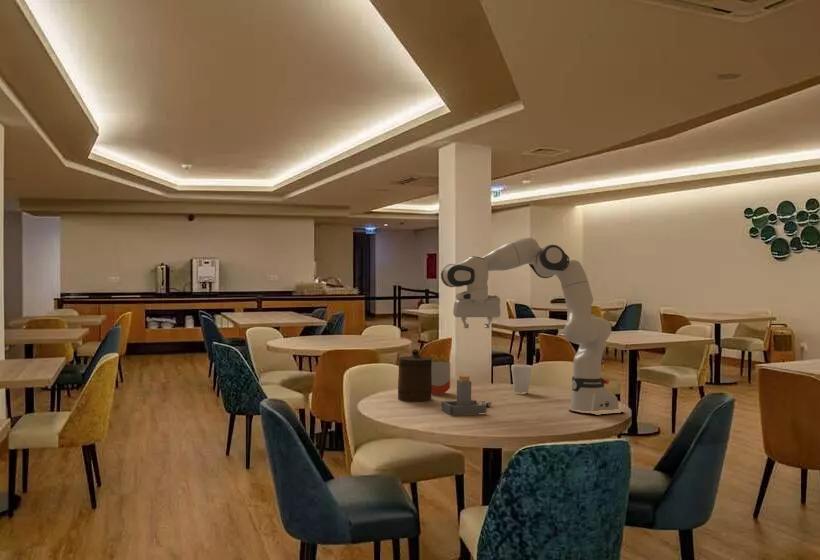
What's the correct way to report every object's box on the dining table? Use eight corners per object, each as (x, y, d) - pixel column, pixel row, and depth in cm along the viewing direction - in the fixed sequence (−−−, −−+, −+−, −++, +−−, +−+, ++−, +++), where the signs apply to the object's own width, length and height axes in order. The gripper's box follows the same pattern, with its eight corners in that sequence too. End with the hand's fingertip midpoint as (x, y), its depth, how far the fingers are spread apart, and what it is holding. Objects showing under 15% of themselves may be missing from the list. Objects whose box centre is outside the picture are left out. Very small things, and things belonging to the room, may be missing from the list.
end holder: (475, 408, 286) (475, 400, 285) (486, 414, 275) (486, 405, 275) (441, 410, 281) (441, 401, 281) (450, 415, 271) (450, 406, 271)
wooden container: (417, 394, 316) (418, 346, 316) (438, 400, 304) (439, 350, 304) (391, 397, 307) (392, 348, 307) (411, 403, 295) (412, 351, 295)
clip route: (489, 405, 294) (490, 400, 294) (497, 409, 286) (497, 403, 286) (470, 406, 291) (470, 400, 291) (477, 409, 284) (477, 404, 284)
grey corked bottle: (466, 409, 281) (467, 375, 281) (470, 411, 277) (471, 376, 276) (456, 409, 280) (457, 375, 280) (460, 412, 275) (461, 377, 275)
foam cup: (507, 392, 328) (507, 364, 328) (523, 391, 332) (524, 364, 332) (518, 395, 319) (518, 367, 319) (534, 394, 323) (535, 366, 323)
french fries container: (427, 391, 325) (427, 353, 324) (450, 392, 323) (450, 354, 323) (425, 393, 320) (426, 354, 320) (448, 394, 318) (449, 355, 318)
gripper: (497, 295, 296) (496, 327, 296) (452, 294, 290) (451, 327, 290) (503, 295, 290) (502, 328, 290) (457, 295, 284) (456, 328, 284)
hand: (476, 328), depth 290 cm, fingers open, 8 cm apart
